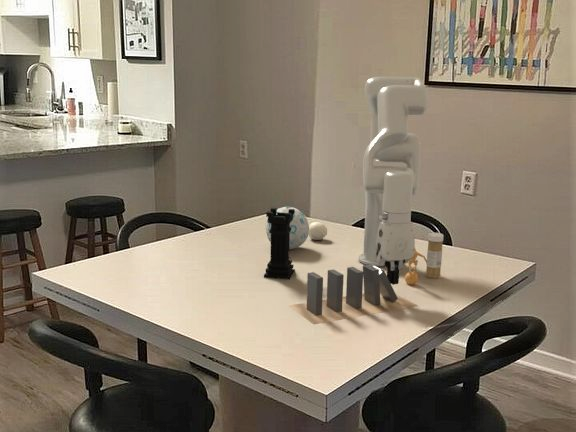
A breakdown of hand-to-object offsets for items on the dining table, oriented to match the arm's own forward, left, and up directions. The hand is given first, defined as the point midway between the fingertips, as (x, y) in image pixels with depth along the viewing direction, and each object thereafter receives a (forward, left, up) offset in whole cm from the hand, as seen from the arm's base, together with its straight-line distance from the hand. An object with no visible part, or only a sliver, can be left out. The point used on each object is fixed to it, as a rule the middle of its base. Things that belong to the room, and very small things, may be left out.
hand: (392, 282), depth 177 cm
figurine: (-13, -8, -5) cm, 16 cm away
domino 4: (+6, 0, -5) cm, 8 cm away
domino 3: (+12, 0, -5) cm, 13 cm away
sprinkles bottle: (-25, -13, -5) cm, 29 cm away
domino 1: (+24, 0, -5) cm, 25 cm away
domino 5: (0, 0, -4) cm, 4 cm away
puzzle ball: (+3, -58, -5) cm, 58 cm away
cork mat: (+12, 0, -5) cm, 13 cm away
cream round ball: (-13, -65, -5) cm, 67 cm away
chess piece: (+18, -33, -5) cm, 38 cm away
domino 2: (+18, 0, -5) cm, 19 cm away
